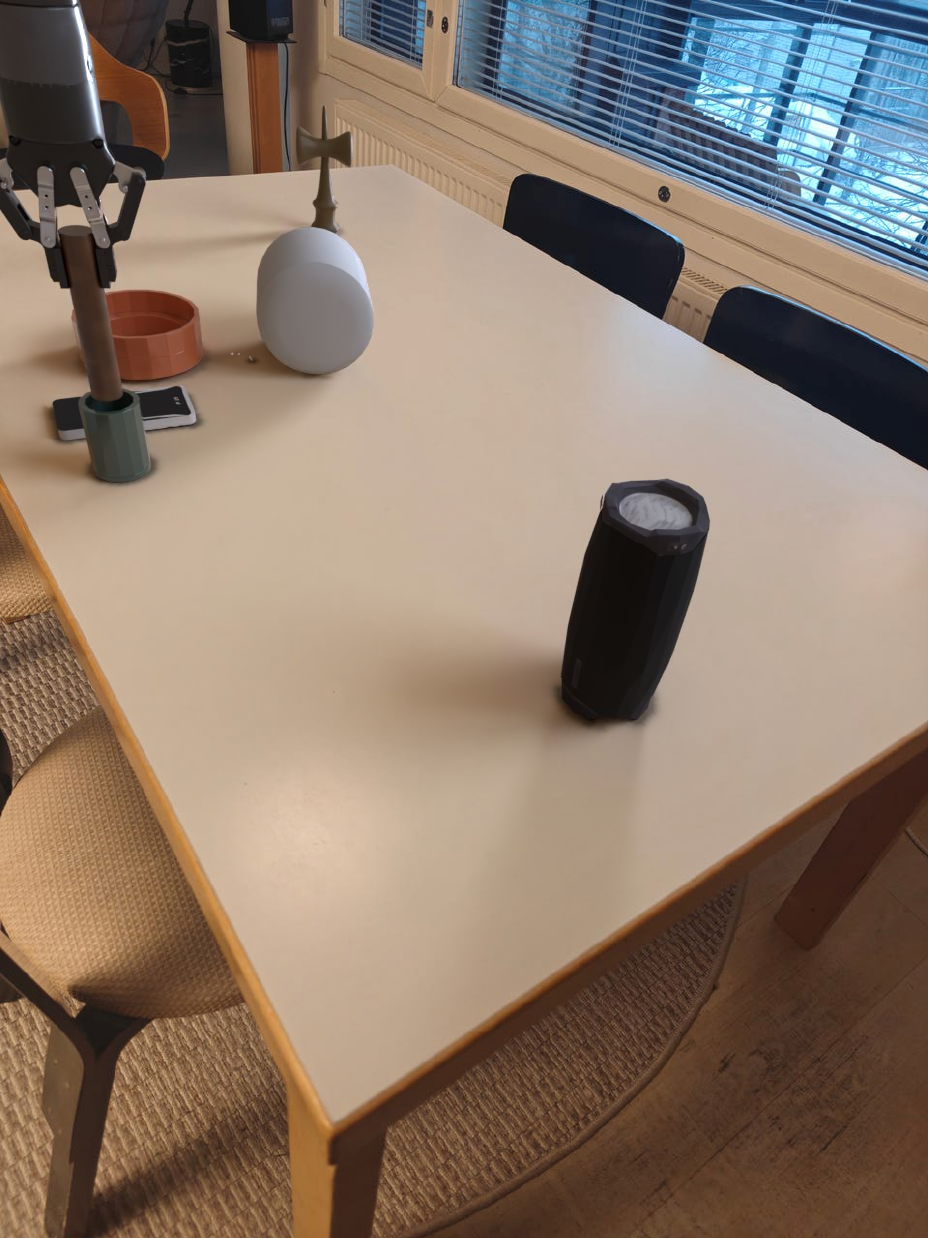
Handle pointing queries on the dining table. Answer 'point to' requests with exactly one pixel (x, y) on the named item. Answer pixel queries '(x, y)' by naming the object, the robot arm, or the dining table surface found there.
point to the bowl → (152, 333)
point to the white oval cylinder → (313, 301)
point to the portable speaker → (632, 596)
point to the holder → (116, 437)
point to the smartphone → (156, 405)
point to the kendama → (324, 168)
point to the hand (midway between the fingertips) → (85, 284)
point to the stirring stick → (91, 312)
